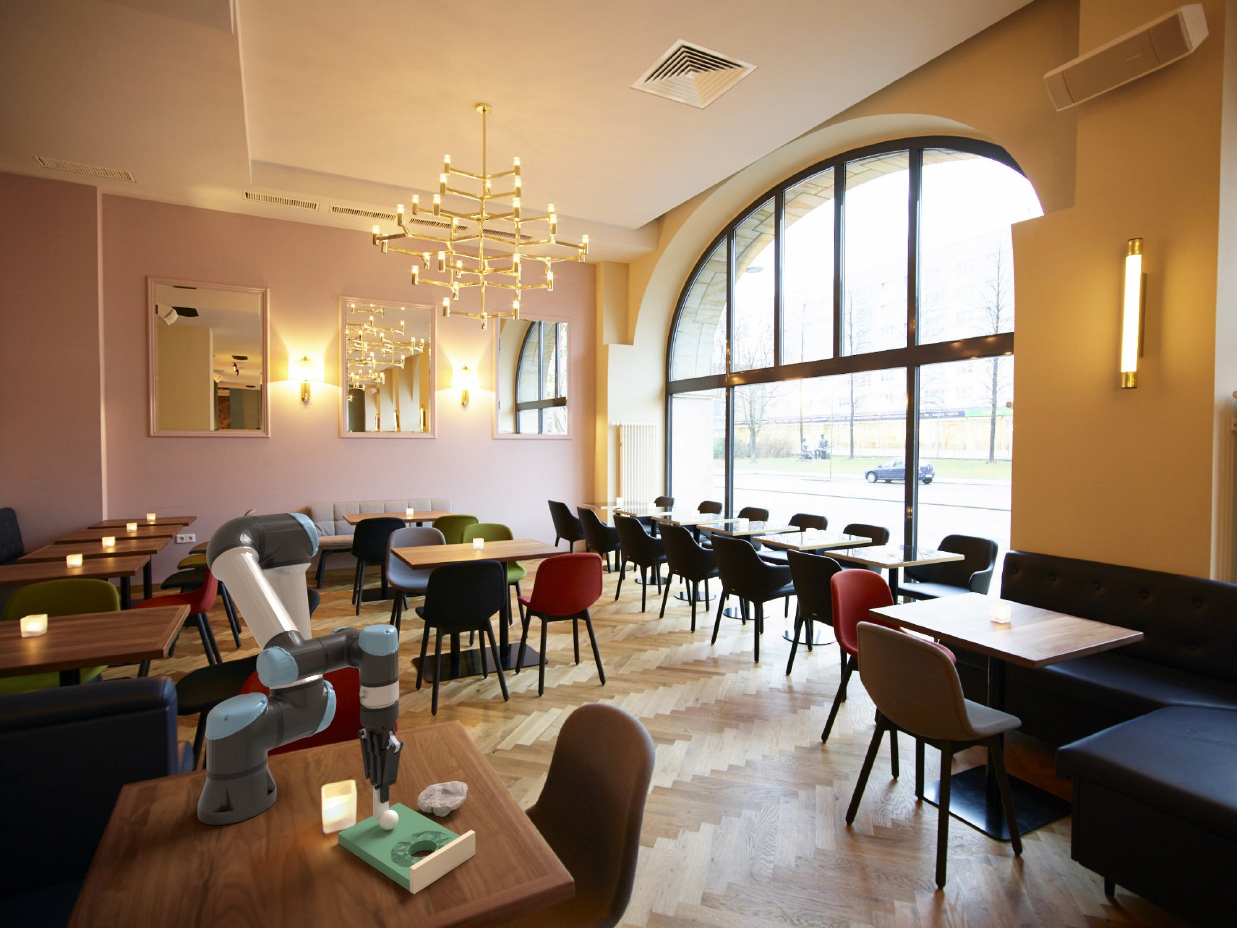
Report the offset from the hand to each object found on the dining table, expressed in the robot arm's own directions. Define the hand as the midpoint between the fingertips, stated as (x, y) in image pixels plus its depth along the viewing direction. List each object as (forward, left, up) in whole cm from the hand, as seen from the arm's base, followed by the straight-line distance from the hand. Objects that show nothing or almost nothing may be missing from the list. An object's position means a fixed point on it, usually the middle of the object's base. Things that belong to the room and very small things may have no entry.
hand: (381, 815), depth 130 cm
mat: (+8, 0, -4) cm, 9 cm away
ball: (+3, 0, 0) cm, 3 cm away
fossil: (+3, +14, -4) cm, 15 cm away
